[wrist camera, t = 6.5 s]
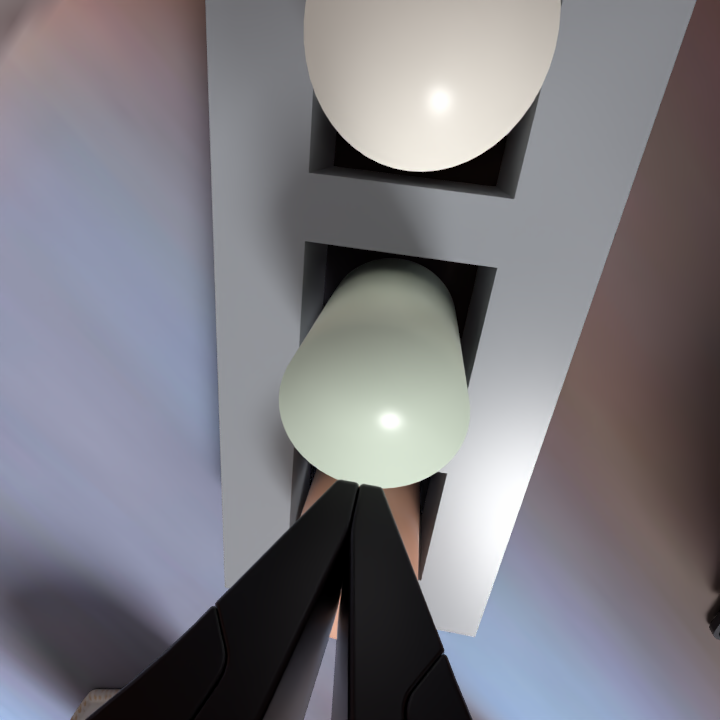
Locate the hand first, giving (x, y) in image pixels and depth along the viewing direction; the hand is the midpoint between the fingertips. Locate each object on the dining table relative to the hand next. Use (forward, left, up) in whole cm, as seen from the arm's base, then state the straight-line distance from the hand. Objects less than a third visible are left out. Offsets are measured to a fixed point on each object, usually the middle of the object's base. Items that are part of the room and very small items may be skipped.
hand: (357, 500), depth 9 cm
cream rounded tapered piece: (0, -8, -11) cm, 13 cm away
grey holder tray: (0, 0, -12) cm, 12 cm away
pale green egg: (0, 0, -10) cm, 10 cm away
